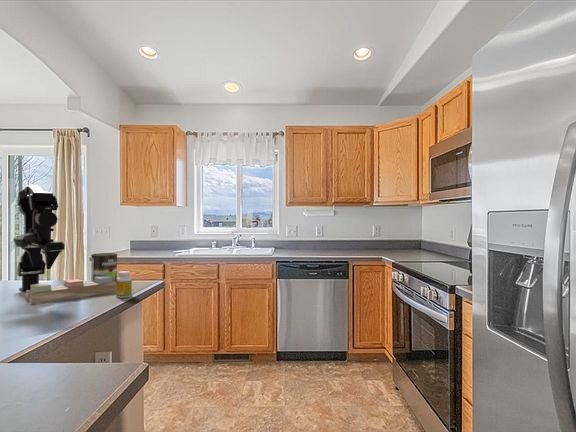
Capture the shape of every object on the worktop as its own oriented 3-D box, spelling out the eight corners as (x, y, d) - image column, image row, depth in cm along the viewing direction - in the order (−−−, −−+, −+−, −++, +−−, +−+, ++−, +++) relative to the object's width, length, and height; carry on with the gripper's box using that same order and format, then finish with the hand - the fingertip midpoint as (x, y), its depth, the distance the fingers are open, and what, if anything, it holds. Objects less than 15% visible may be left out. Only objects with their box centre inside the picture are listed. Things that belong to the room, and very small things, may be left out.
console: (25, 301, 131) (26, 290, 131) (108, 288, 154) (108, 279, 154) (32, 304, 127) (32, 293, 127) (115, 291, 149) (116, 282, 149)
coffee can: (121, 285, 161) (122, 254, 161) (99, 289, 152) (99, 256, 152) (108, 282, 167) (108, 252, 166) (85, 286, 158) (86, 254, 158)
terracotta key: (64, 291, 140) (64, 280, 140) (78, 289, 144) (78, 279, 144) (69, 293, 137) (69, 282, 137) (83, 291, 140) (83, 280, 140)
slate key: (94, 286, 148) (94, 277, 148) (106, 285, 152) (106, 275, 152) (99, 288, 145) (99, 278, 145) (112, 286, 149) (112, 277, 149)
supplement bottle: (125, 298, 138) (125, 273, 138) (113, 297, 139) (113, 272, 139) (134, 295, 143) (134, 271, 143) (122, 294, 144) (122, 270, 144)
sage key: (30, 295, 131) (30, 284, 131) (46, 293, 135) (46, 282, 135) (34, 298, 128) (34, 286, 128) (50, 295, 132) (51, 284, 132)
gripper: (3, 224, 130) (2, 267, 131) (32, 228, 122) (32, 274, 123) (36, 223, 140) (35, 263, 141) (65, 227, 132) (65, 269, 132)
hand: (41, 267), depth 134 cm, fingers open, 9 cm apart
